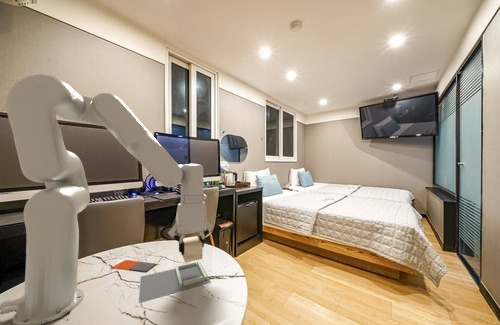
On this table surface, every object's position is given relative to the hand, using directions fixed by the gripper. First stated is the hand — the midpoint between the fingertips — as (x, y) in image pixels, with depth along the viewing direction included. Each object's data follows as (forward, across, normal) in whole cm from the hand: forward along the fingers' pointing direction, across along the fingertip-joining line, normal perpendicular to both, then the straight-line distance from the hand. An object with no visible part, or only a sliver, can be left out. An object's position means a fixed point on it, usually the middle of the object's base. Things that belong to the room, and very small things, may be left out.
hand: (191, 251), depth 65 cm
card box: (+2, 0, 0) cm, 2 cm away
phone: (+9, +18, -15) cm, 25 cm away
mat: (+8, +5, +1) cm, 10 cm away
